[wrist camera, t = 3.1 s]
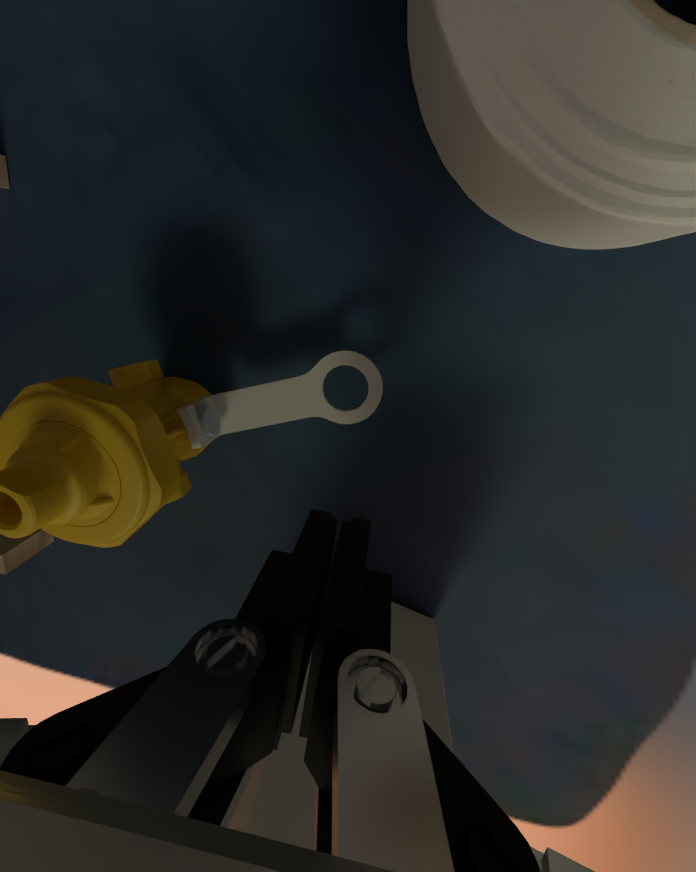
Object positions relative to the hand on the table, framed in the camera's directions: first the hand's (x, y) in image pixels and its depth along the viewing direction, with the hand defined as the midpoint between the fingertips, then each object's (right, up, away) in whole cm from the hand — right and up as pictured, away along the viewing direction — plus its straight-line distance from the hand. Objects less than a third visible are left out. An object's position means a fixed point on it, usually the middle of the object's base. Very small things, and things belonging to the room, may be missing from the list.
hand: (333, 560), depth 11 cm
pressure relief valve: (-4, +6, +8) cm, 10 cm away
